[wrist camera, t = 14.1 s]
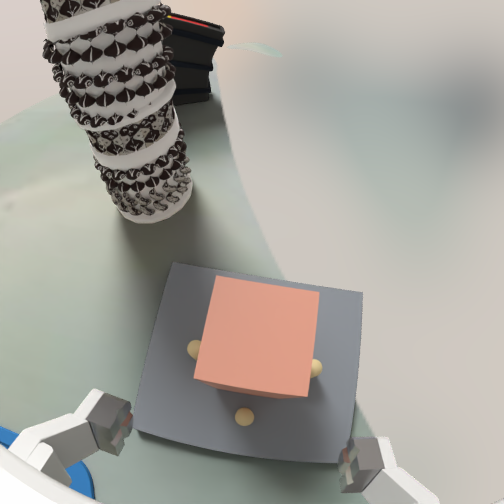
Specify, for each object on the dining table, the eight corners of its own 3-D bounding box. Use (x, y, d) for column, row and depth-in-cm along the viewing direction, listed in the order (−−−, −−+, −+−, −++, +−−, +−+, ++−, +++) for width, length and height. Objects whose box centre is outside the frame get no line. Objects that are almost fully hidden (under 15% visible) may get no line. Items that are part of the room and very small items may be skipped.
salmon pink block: (215, 388, 20) (193, 378, 11) (227, 329, 22) (216, 275, 13) (279, 398, 20) (307, 396, 11) (288, 339, 22) (319, 292, 13)
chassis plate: (136, 426, 19) (118, 429, 16) (175, 267, 26) (166, 246, 22) (340, 460, 18) (356, 469, 15) (357, 297, 25) (373, 280, 22)
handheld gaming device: (96, 538, 13) (-19, 484, 12) (101, 534, 14) (-12, 483, 13) (86, 458, 17) (-25, 415, 16) (92, 457, 18) (-18, 416, 17)
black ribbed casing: (113, 97, 36) (141, 6, 25) (195, 112, 43) (237, 30, 31) (109, 111, 34) (137, 12, 23) (197, 126, 41) (241, 39, 30)
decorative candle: (128, 243, 27) (10, -25, 5) (104, 183, 30) (26, -25, 8) (212, 200, 29) (188, -79, 7) (175, 148, 33) (142, -65, 11)
